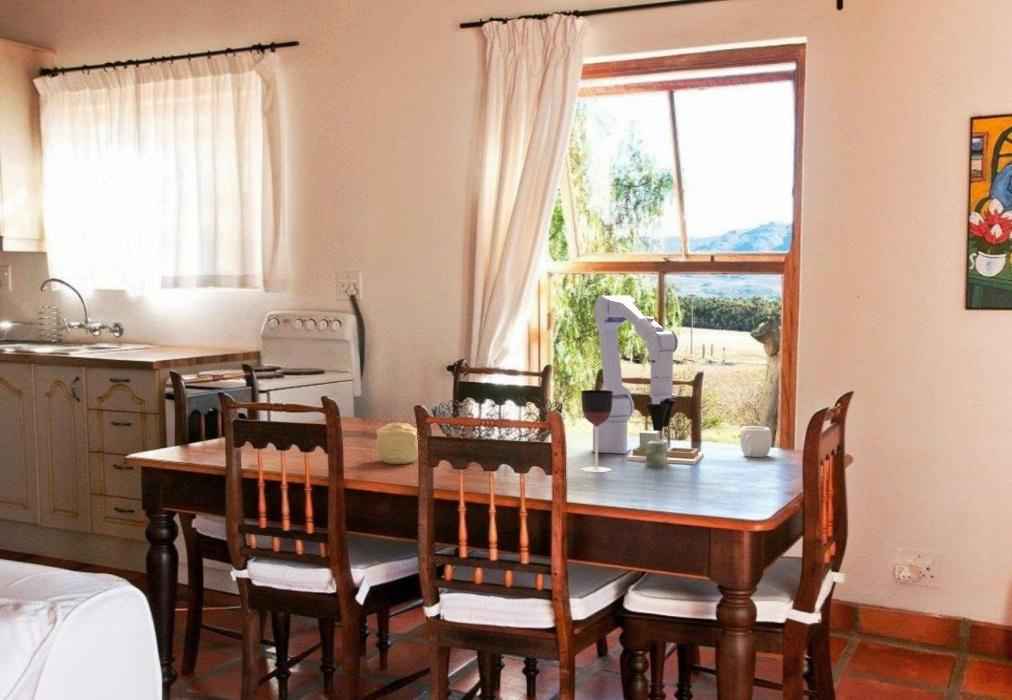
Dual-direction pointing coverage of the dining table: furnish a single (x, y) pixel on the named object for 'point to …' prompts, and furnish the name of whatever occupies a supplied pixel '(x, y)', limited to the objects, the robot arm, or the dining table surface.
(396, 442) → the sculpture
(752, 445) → the mug
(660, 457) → the green block
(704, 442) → the dining table surface
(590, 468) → the wineglass
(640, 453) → the puzzle board
